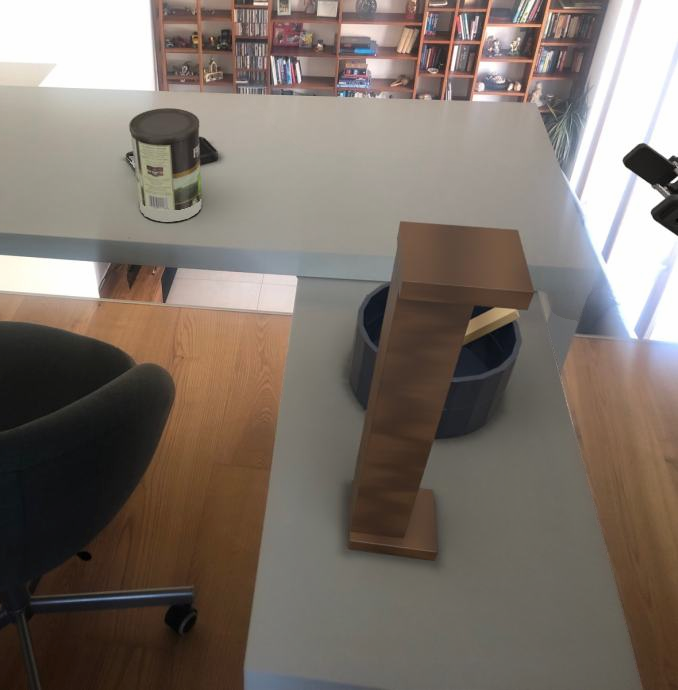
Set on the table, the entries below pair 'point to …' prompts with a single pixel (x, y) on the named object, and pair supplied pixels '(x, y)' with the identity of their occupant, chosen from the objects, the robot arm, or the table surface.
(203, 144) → the phone
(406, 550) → the stand
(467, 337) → the t-shaped wooden block
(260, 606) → the table surface
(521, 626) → the table surface
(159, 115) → the coffee can
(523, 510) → the table surface
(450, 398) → the pot
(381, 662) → the table surface
